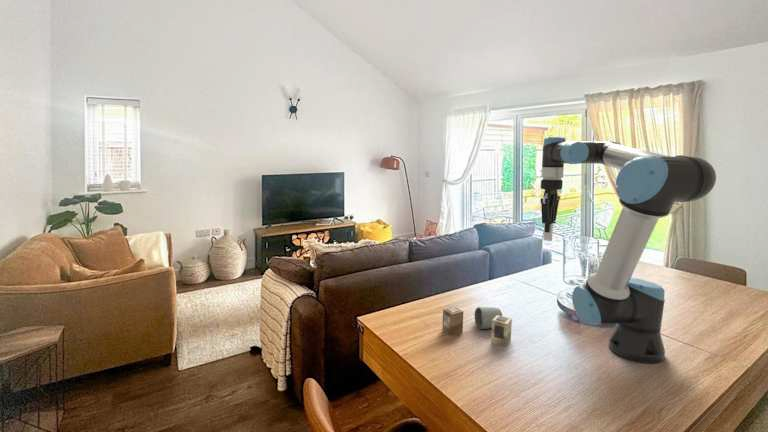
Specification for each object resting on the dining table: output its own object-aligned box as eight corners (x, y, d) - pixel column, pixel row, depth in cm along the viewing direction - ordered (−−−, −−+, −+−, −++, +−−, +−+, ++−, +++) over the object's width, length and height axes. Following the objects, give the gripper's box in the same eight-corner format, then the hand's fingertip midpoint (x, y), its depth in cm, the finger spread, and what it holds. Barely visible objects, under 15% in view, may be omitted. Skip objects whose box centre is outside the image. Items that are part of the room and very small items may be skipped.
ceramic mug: (503, 330, 141) (504, 310, 140) (482, 332, 140) (483, 311, 139) (490, 319, 152) (490, 299, 150) (470, 320, 150) (470, 301, 149)
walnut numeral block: (462, 332, 140) (463, 310, 138) (451, 336, 137) (451, 313, 136) (453, 327, 144) (453, 306, 143) (441, 330, 141) (442, 308, 140)
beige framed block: (510, 340, 134) (511, 317, 132) (505, 347, 129) (507, 323, 128) (496, 337, 136) (497, 314, 135) (490, 343, 132) (491, 319, 131)
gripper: (548, 177, 156) (544, 236, 160) (534, 179, 147) (530, 241, 150) (568, 178, 151) (564, 239, 155) (555, 180, 142) (550, 244, 145)
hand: (547, 240), depth 152 cm, fingers closed
